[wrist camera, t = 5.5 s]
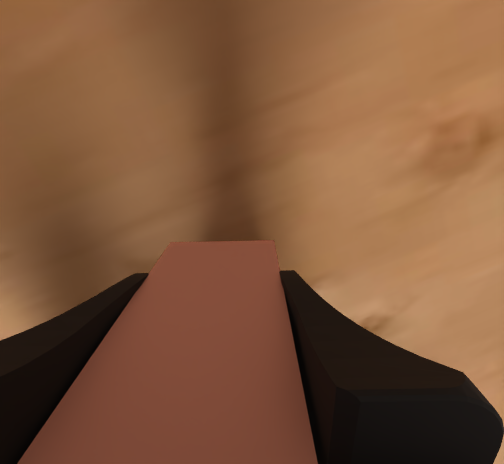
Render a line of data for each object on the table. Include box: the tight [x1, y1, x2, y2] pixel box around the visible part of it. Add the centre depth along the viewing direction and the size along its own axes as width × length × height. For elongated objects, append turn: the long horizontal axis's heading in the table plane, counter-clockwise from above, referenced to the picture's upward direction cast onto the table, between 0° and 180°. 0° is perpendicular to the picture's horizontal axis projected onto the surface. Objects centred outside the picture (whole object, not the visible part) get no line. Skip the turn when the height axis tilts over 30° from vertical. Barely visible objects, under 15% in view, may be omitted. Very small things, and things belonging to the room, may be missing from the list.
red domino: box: [17, 240, 318, 464], centre depth 9 cm, size 2×5×10 cm, turn 91°
